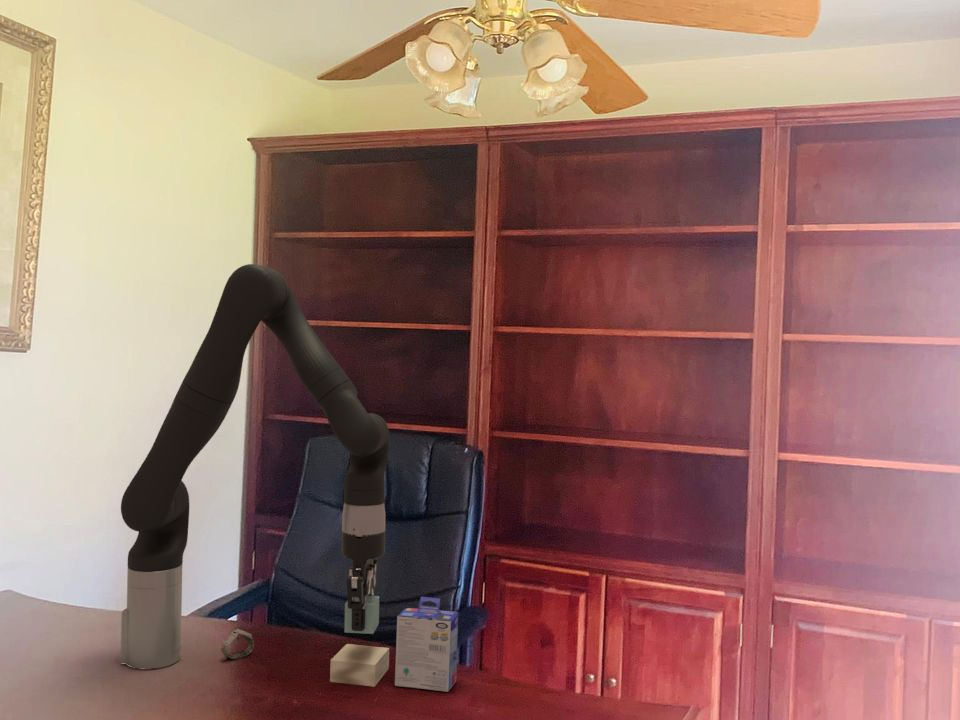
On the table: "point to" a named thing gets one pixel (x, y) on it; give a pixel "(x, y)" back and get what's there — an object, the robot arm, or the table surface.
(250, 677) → the table surface
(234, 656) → the wristwatch
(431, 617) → the ink cartridge box
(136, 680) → the table surface
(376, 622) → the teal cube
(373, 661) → the ash block
